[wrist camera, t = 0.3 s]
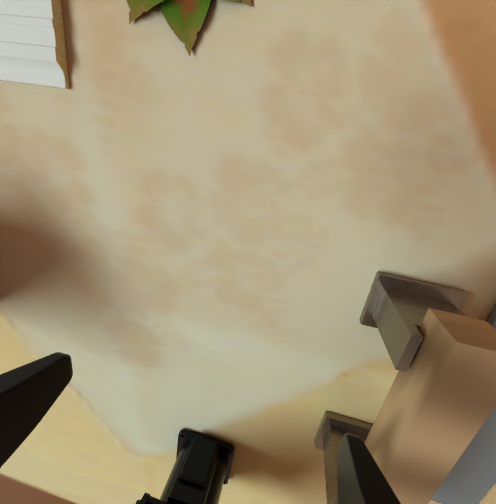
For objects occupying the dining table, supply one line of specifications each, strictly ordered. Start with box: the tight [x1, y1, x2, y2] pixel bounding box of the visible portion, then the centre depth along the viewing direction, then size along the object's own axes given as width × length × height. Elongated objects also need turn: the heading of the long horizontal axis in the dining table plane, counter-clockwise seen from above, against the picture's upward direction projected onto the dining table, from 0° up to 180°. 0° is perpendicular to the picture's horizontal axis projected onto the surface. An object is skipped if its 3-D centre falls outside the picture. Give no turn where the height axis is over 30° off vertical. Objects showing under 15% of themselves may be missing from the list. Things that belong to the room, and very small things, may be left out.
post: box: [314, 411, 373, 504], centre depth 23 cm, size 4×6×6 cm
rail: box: [365, 308, 496, 504], centre depth 17 cm, size 20×3×3 cm, turn 171°
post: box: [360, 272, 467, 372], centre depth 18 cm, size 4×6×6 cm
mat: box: [430, 306, 496, 504], centre depth 22 cm, size 24×7×1 cm, turn 171°
